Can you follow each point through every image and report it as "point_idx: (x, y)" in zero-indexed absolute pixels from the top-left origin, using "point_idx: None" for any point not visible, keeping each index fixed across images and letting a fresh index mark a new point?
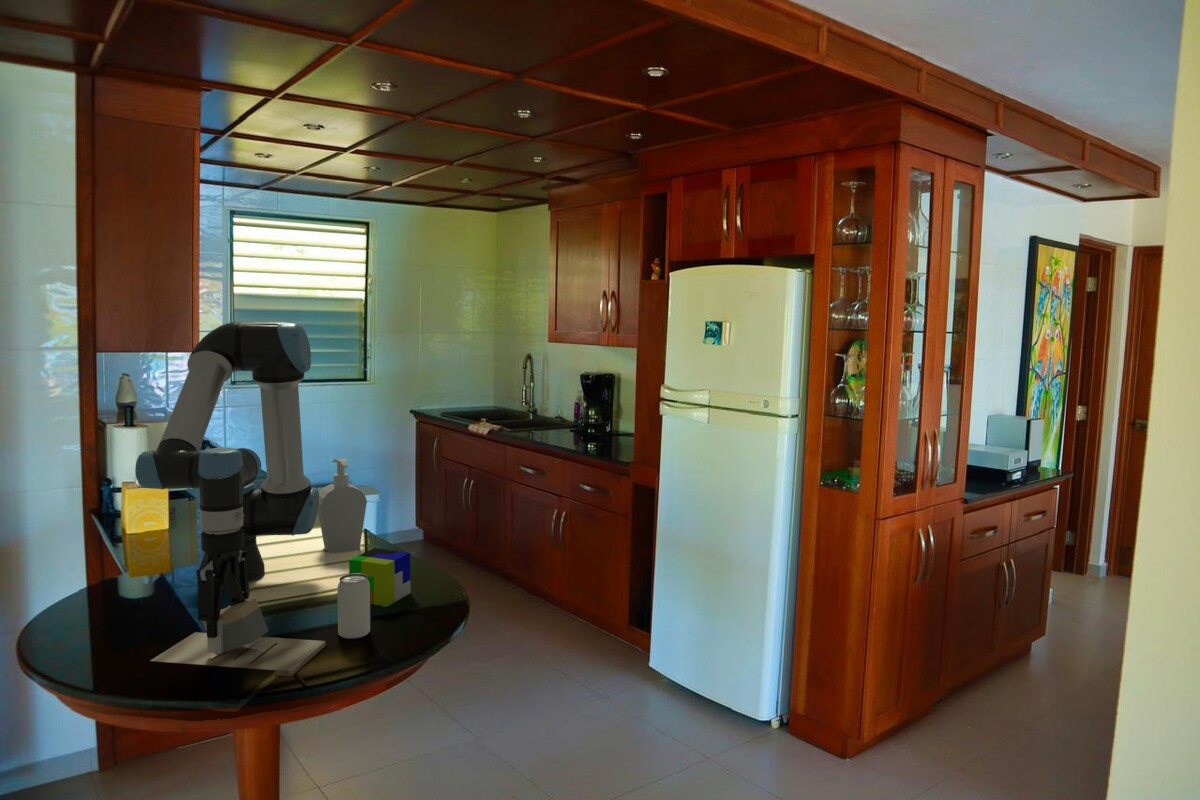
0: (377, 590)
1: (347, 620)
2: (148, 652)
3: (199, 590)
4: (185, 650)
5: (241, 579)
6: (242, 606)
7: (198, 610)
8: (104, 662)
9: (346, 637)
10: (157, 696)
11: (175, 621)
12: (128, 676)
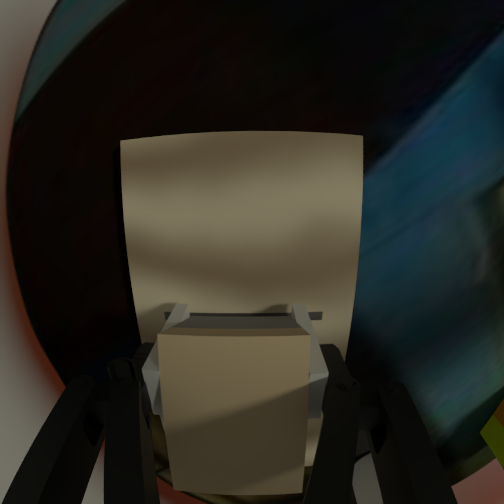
0: (501, 436)
1: (356, 495)
2: (216, 67)
3: (19, 478)
4: (211, 196)
5: (389, 489)
6: (199, 492)
7: (56, 405)
8: (137, 14)
9: None
10: (24, 277)
11: (436, 33)
12: (69, 137)
